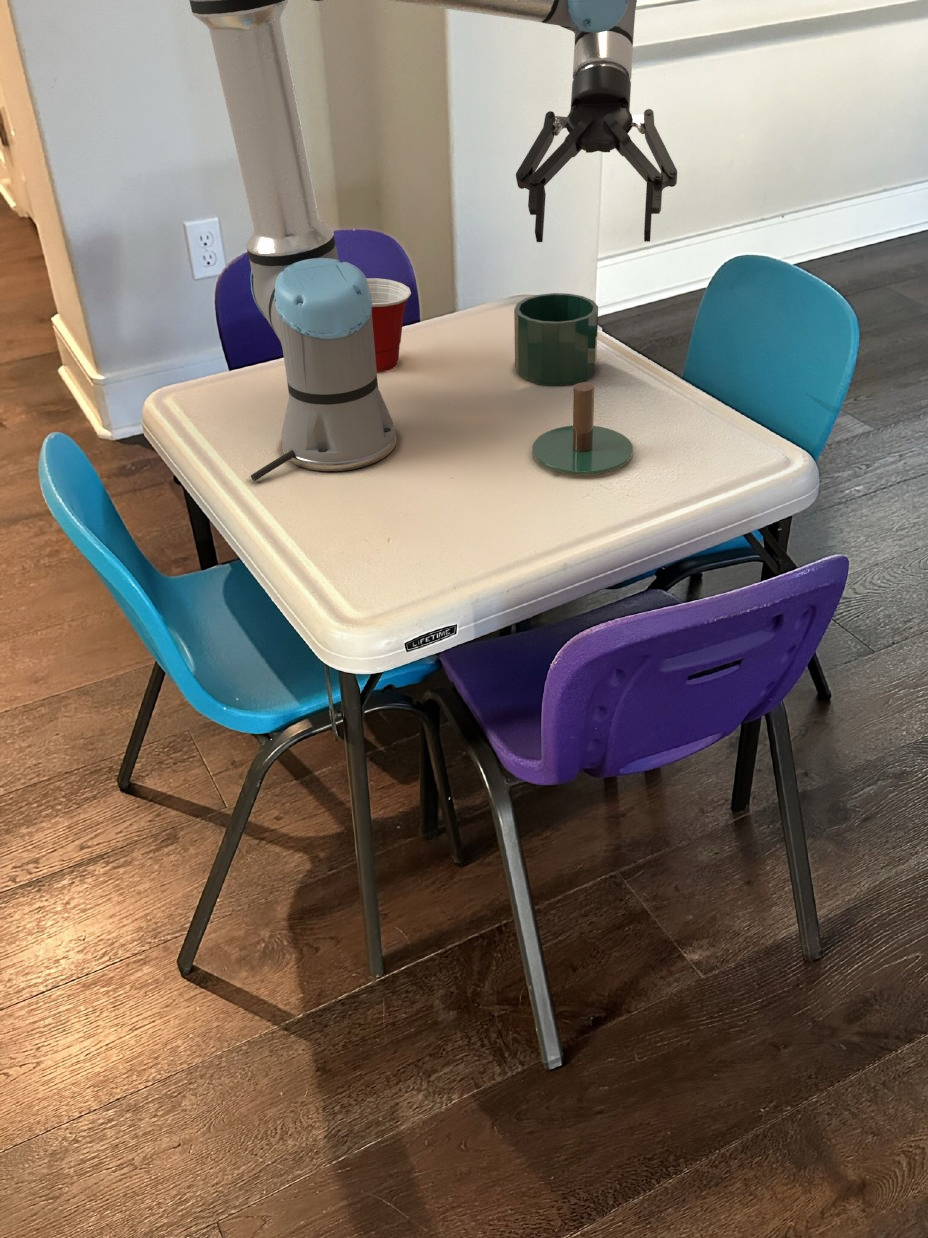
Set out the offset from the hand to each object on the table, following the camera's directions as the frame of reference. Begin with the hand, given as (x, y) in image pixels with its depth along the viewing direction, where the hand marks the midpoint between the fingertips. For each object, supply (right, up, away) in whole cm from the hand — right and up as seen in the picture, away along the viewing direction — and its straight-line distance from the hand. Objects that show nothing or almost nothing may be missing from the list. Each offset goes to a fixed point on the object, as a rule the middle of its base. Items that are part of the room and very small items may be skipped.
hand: (592, 237), depth 142 cm
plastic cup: (-29, -9, +31) cm, 44 cm away
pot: (-2, -10, +28) cm, 30 cm away
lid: (-1, -26, +5) cm, 27 cm away
